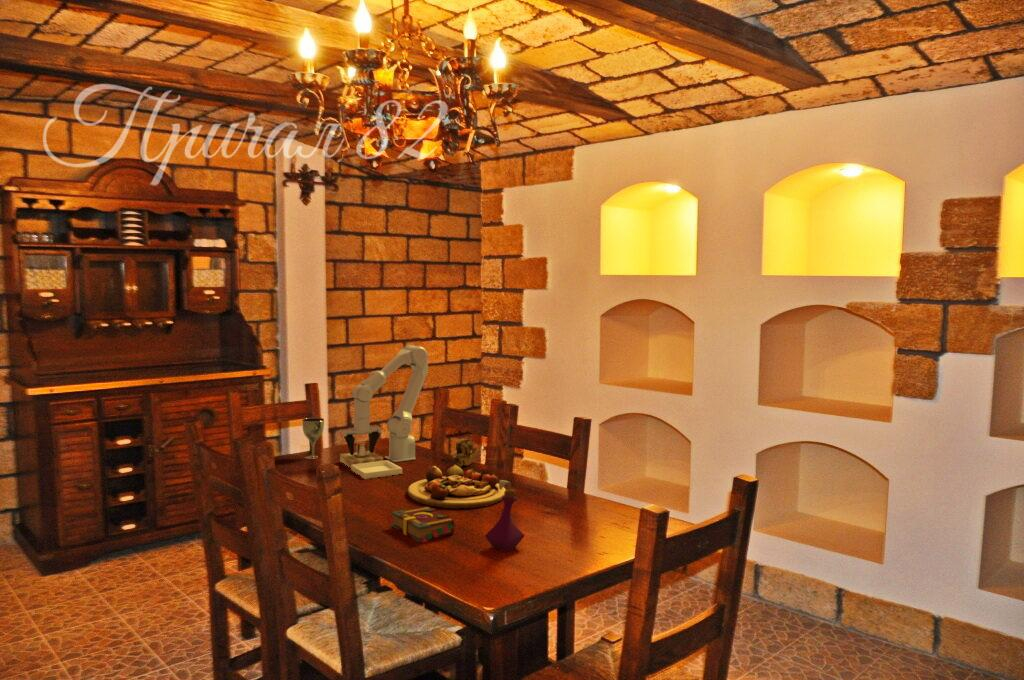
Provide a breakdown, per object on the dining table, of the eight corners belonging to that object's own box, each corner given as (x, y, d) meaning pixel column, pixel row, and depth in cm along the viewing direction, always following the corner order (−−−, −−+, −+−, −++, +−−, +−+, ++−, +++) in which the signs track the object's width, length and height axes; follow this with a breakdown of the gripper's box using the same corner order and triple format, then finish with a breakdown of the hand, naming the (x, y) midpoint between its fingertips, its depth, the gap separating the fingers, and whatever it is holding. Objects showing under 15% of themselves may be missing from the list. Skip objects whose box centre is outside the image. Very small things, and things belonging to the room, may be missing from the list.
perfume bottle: (502, 540, 196) (504, 474, 194) (524, 547, 191) (526, 480, 189) (484, 548, 190) (485, 480, 188) (506, 555, 185) (508, 485, 184)
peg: (364, 462, 274) (364, 441, 274) (367, 464, 271) (368, 443, 271) (355, 463, 272) (355, 442, 272) (358, 465, 269) (358, 444, 269)
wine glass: (328, 458, 279) (328, 419, 278) (312, 462, 272) (312, 422, 271) (313, 454, 283) (313, 416, 282) (297, 458, 277) (297, 419, 275)
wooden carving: (463, 471, 265) (463, 444, 264) (451, 470, 266) (451, 443, 265) (478, 461, 280) (479, 435, 280) (467, 459, 282) (468, 434, 281)
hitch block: (370, 458, 280) (370, 450, 280) (383, 465, 270) (383, 457, 270) (340, 462, 274) (340, 454, 273) (352, 469, 264) (352, 461, 263)
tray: (387, 466, 269) (387, 460, 269) (402, 474, 259) (402, 468, 258) (350, 470, 262) (350, 464, 262) (364, 479, 251) (364, 473, 251)
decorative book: (426, 520, 211) (427, 503, 211) (457, 537, 198) (457, 519, 198) (391, 527, 204) (391, 510, 204) (420, 545, 192) (420, 526, 191)
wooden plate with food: (461, 517, 215) (462, 490, 214) (386, 495, 234) (387, 469, 233) (526, 496, 240) (527, 471, 239) (453, 477, 259) (454, 454, 259)
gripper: (375, 413, 278) (375, 449, 279) (339, 417, 270) (338, 453, 271) (383, 417, 272) (383, 453, 273) (346, 420, 264) (345, 457, 265)
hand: (361, 453), depth 271 cm, fingers open, 7 cm apart
